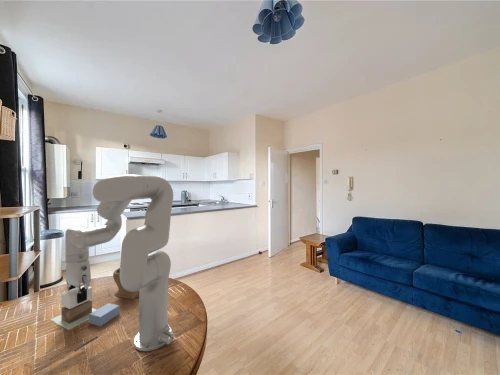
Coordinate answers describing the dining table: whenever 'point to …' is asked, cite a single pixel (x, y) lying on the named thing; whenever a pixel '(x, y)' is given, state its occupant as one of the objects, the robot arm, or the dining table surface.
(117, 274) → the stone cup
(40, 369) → the dining table surface
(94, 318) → the brick
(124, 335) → the dining table surface
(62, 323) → the build board
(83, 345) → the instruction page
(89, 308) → the brick
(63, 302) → the brick
